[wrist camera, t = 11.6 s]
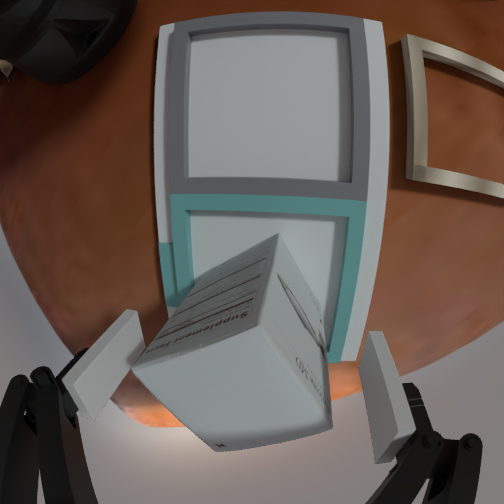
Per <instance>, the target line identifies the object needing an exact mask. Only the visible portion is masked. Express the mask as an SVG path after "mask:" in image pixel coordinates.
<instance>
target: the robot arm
mask: <svg viewBox="0 0 504 504" xmlns="http://www.w3.org/2000/svg"><path fill="white" fill-rule="evenodd" d="M136 3H137V0H0V60H5V61H7V62H9V63H10V64H12V65H14V66H15V67H17V68H18V69H20V70H21V71H23V72H24V73H26V74H27V75H29V76H31V77H32V78H33V79H35V80H37V81H40V82H44V83H51V84H63V83H67V82H70V81H72V80H74V79H76V78H78V77H80V76H81V75H83V74H84V73H86V72H87V71H88V70H89V69H91V68H92V67H93V66H94V65H95V64H96V63H98V62H99V61H100V60H101V59H102V58H103V57H104V55H105V54H106V53H107V52H108V51H109V50H110V49H111V47H112V46H113V45H114V44H115V42H116V41H117V40H118V38H119V37H120V36H121V34H122V33H123V31H124V29H125V28H126V26H127V24H128V22H129V21H130V19H131V17H132V14H133V12H134V9H135V6H136ZM145 347H146V346H145V342H144V338H143V334H142V330H141V326H140V322H139V317H138V313H137V311H134V310H128V309H126V310H125V311H124V313H123V314H122V315H121V316H120V317H119V318H118V319H117V320H116V321H115V322H114V323H113V324H112V325H111V326H110V327H109V328H108V329H107V330H106V331H105V332H104V333H103V335H102V336H101V337H100V338H99V339H98V340H97V341H96V342H95V343H94V344H93V345H92V346H91V347H90V349H89V348H85V349H83V350H81V351H80V352H78V354H77V355H76V356H75V357H74V359H72V360H71V361H70V362H69V363H68V364H67V365H66V367H65V368H64V369H63V370H62V371H61V372H60V373H59V374H58V376H56V378H55V377H54V375H53V373H52V371H51V370H50V369H49V368H48V367H45V366H41V367H38V368H36V369H35V370H33V371H32V373H31V375H30V378H31V380H32V382H33V383H30V382H29V380H28V378H27V377H26V376H25V375H17V376H15V377H13V378H12V379H11V381H10V383H9V385H8V388H7V390H6V393H5V395H4V398H3V401H2V404H1V406H0V504H37V491H38V478H39V469H40V474H41V481H42V488H43V493H44V498H45V503H46V504H98V501H97V498H96V495H95V492H94V489H93V486H92V482H91V478H90V475H89V471H88V467H87V463H86V458H85V454H84V450H83V444H82V439H81V434H80V428H79V422H78V417H77V414H76V412H77V411H78V410H79V411H80V412H81V414H82V416H83V417H85V418H87V419H90V420H92V421H95V420H96V418H97V417H98V415H99V414H100V412H101V411H102V409H103V408H104V406H105V405H106V403H107V402H108V400H109V399H110V397H111V396H112V394H113V393H114V392H115V390H116V389H117V387H118V386H119V384H120V383H121V381H122V380H123V379H124V377H125V376H126V374H127V373H128V371H129V370H130V369H131V367H132V366H133V364H134V363H135V361H136V360H137V359H138V357H139V356H140V354H141V353H142V352H143V350H144V349H145ZM358 370H359V374H360V379H361V384H362V389H363V394H364V399H365V404H366V409H367V415H368V421H369V426H370V432H371V439H372V445H373V453H374V460H375V464H379V463H387V462H391V461H392V460H393V459H394V457H395V456H396V460H397V464H396V465H395V466H394V467H393V468H392V469H391V470H390V471H389V474H388V476H387V477H386V478H385V480H384V481H383V483H382V484H381V485H380V486H379V488H378V489H377V490H376V492H375V493H374V494H373V495H372V496H371V498H370V499H369V500H368V501H367V502H366V503H365V504H411V503H412V502H413V500H414V499H415V497H416V496H417V494H418V493H419V491H420V489H421V488H422V486H423V484H424V483H425V481H426V479H430V480H429V483H428V486H427V490H426V493H425V496H424V499H423V502H422V504H474V502H475V497H476V492H477V486H478V481H479V474H480V467H481V458H482V447H483V446H482V441H481V439H480V438H479V437H478V436H477V435H475V434H472V433H469V434H466V435H464V436H463V437H462V438H461V439H460V440H450V439H444V438H443V437H442V436H441V434H439V433H438V432H436V431H433V429H432V426H431V423H430V420H429V417H428V414H427V411H426V409H425V406H424V403H423V401H422V399H421V395H420V392H419V390H418V389H417V387H416V386H415V385H414V384H413V383H401V380H400V377H399V374H398V372H397V369H396V366H395V363H394V361H393V358H392V355H391V353H390V350H389V347H388V345H387V342H386V340H385V337H384V335H383V332H382V331H369V333H368V337H367V341H366V344H365V348H364V351H363V355H362V358H361V361H360V364H359V367H358ZM25 411H26V415H24V412H25Z"/></svg>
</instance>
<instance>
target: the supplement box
mask: <svg viewBox="0 0 504 504" xmlns="http://www.w3.org/2000/svg"><path fill="white" fill-rule="evenodd" d="M131 370H132V372H133V373H134V375H135V376H136V377H137V378H138V379H139V380H140V381H141V382H142V384H143V385H144V386H145V387H146V388H147V389H148V390H149V391H150V392H151V393H152V394H153V395H154V396H155V397H156V398H157V399H158V400H159V401H160V402H161V403H162V404H163V405H164V406H165V407H166V408H167V409H168V410H169V411H170V412H171V413H172V414H173V415H174V416H175V417H176V418H177V419H178V420H179V421H180V422H182V423H183V424H184V425H185V426H186V427H187V428H188V429H190V430H191V431H192V432H193V433H195V435H197V436H198V437H199V438H200V439H201V440H202V441H203V442H205V443H206V444H207V445H208V446H210V447H211V448H212V449H213V450H214V451H216V452H223V451H235V450H243V449H249V448H255V447H261V446H266V445H272V444H277V443H282V442H286V441H291V440H295V439H299V438H303V437H307V436H311V435H315V434H318V433H321V432H324V431H327V430H330V429H332V427H333V424H332V410H331V396H330V385H329V373H328V362H327V351H326V342H325V333H324V324H323V316H322V309H321V305H320V303H319V301H318V300H317V298H316V297H315V295H314V293H313V292H312V290H311V288H310V287H309V285H308V283H307V282H306V280H305V278H304V276H303V275H302V273H301V271H300V269H299V267H298V266H297V264H296V262H295V260H294V258H293V256H292V255H291V253H290V251H289V249H288V247H287V245H286V243H285V242H284V240H283V238H282V236H281V234H280V233H277V234H276V235H274V236H272V237H271V238H269V239H267V240H265V241H263V242H261V243H260V244H258V245H256V246H254V247H252V248H250V249H248V250H247V251H245V252H243V253H241V254H239V255H237V256H235V257H234V258H232V259H230V260H228V261H226V262H224V263H222V264H221V265H219V266H217V267H215V268H213V269H211V270H209V271H208V272H206V273H205V274H204V275H203V276H202V278H201V279H200V280H199V281H198V283H197V284H196V285H195V286H194V287H193V289H192V290H191V291H190V292H189V294H188V295H187V296H186V298H185V299H184V300H183V301H182V303H181V304H180V305H179V307H178V308H177V309H176V310H175V312H174V313H173V315H172V316H171V317H170V318H169V320H168V321H167V322H166V324H165V325H164V326H163V328H162V329H161V330H160V332H159V333H158V334H157V336H156V337H155V338H154V340H153V341H152V342H151V344H150V345H149V346H148V348H147V349H146V350H145V351H144V353H143V354H142V355H141V356H140V358H139V359H138V360H137V361H136V362H135V363H134V364H133V366H132V367H131Z"/></svg>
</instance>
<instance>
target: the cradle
mask: <svg viewBox="0 0 504 504" xmlns="http://www.w3.org/2000/svg"><path fill="white" fill-rule="evenodd" d="M401 45H402V52H403V61H404V71H405V84H406V103H407V155H406V175H405V178H406V179H410V180H415V181H421V182H428V183H434V184H439V185H445V186H450V187H456V188H461V189H466V190H470V191H475V192H480V193H484V194H488V195H493V196H497V197H501V198H504V185H503V184H500V183H496V182H493V181H489V180H485V179H481V178H477V177H473V176H469V175H465V174H461V173H456V172H451V171H447V170H442V169H437V168H432V167H427V150H428V114H427V93H426V80H425V70H424V61H423V57H425V58H428V59H431V60H435V61H438V62H441V63H444V64H447V65H449V66H452V67H455V68H458V69H460V70H463V71H465V72H468V73H470V74H473V75H475V76H478V77H480V78H482V79H484V80H487V81H489V82H491V83H493V84H495V85H497V86H499V87H501V88H503V89H504V72H503V71H501V70H499V69H497V68H495V67H493V66H491V65H489V64H487V63H485V62H483V61H481V60H479V59H477V58H474V57H472V56H470V55H467V54H465V53H463V52H460V51H458V50H455V49H453V48H450V47H447V46H445V45H442V44H439V43H436V42H433V41H430V40H427V39H424V38H420V37H417V36H413V35H410V34H406V35H405V36H404V37H403V38H402V39H401Z"/></svg>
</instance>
